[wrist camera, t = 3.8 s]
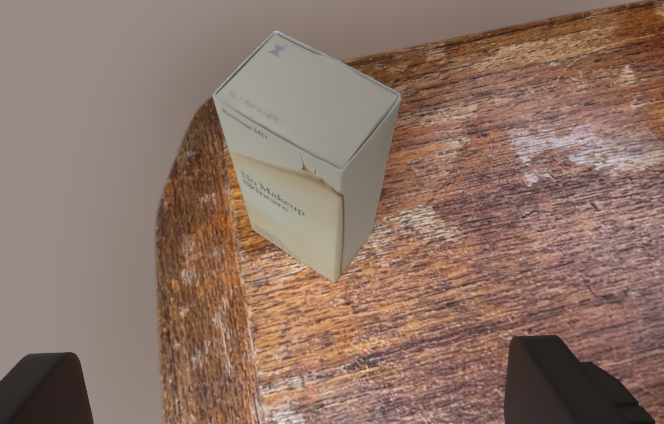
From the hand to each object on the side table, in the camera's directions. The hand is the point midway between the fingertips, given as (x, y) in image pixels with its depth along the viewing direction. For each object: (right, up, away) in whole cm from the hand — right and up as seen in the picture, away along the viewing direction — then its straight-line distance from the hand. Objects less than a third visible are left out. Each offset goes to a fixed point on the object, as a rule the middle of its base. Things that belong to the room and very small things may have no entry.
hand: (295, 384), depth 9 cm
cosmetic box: (0, +2, +20) cm, 21 cm away
